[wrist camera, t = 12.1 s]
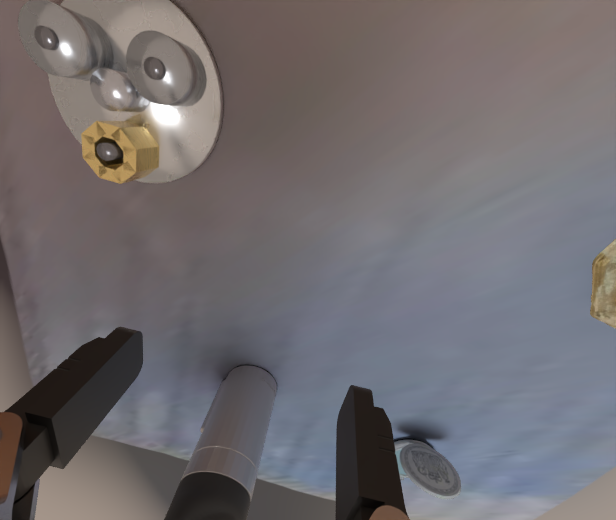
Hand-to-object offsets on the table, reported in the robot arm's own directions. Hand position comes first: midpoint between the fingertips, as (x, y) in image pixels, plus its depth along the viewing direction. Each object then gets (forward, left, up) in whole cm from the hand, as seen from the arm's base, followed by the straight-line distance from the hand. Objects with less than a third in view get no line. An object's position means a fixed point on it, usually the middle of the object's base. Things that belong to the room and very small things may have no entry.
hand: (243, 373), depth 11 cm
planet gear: (-16, +16, -28) cm, 36 cm away
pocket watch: (-9, -52, -30) cm, 60 cm away
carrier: (-11, +20, -29) cm, 37 cm away
